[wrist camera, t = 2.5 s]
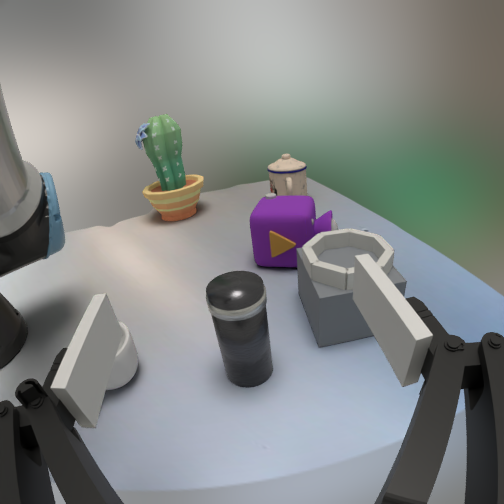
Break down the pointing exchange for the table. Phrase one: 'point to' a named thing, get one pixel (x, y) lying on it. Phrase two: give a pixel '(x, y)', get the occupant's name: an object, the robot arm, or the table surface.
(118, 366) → the teacup
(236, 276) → the lens
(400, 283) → the camera body block
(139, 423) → the table surface
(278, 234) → the toy camera
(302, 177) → the teacup with lid
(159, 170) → the potted cactus
